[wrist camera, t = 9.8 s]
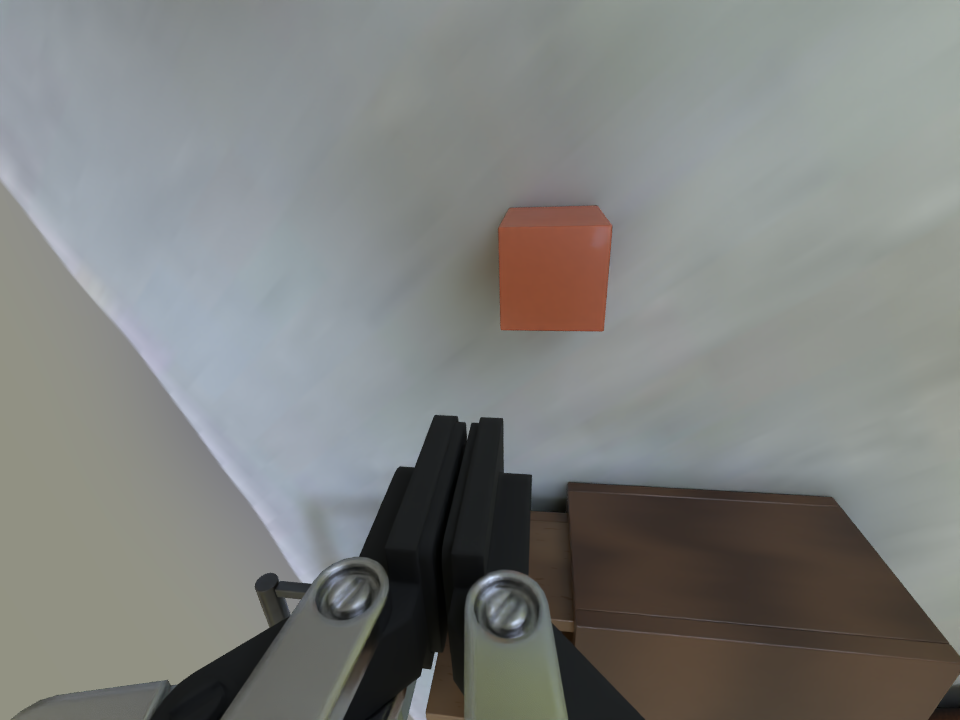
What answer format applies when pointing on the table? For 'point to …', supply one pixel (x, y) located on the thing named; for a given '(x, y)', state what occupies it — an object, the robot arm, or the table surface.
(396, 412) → the table surface
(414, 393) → the table surface
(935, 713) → the sunglasses case
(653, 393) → the table surface
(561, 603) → the drawer
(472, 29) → the table surface
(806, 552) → the cabinet
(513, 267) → the block
